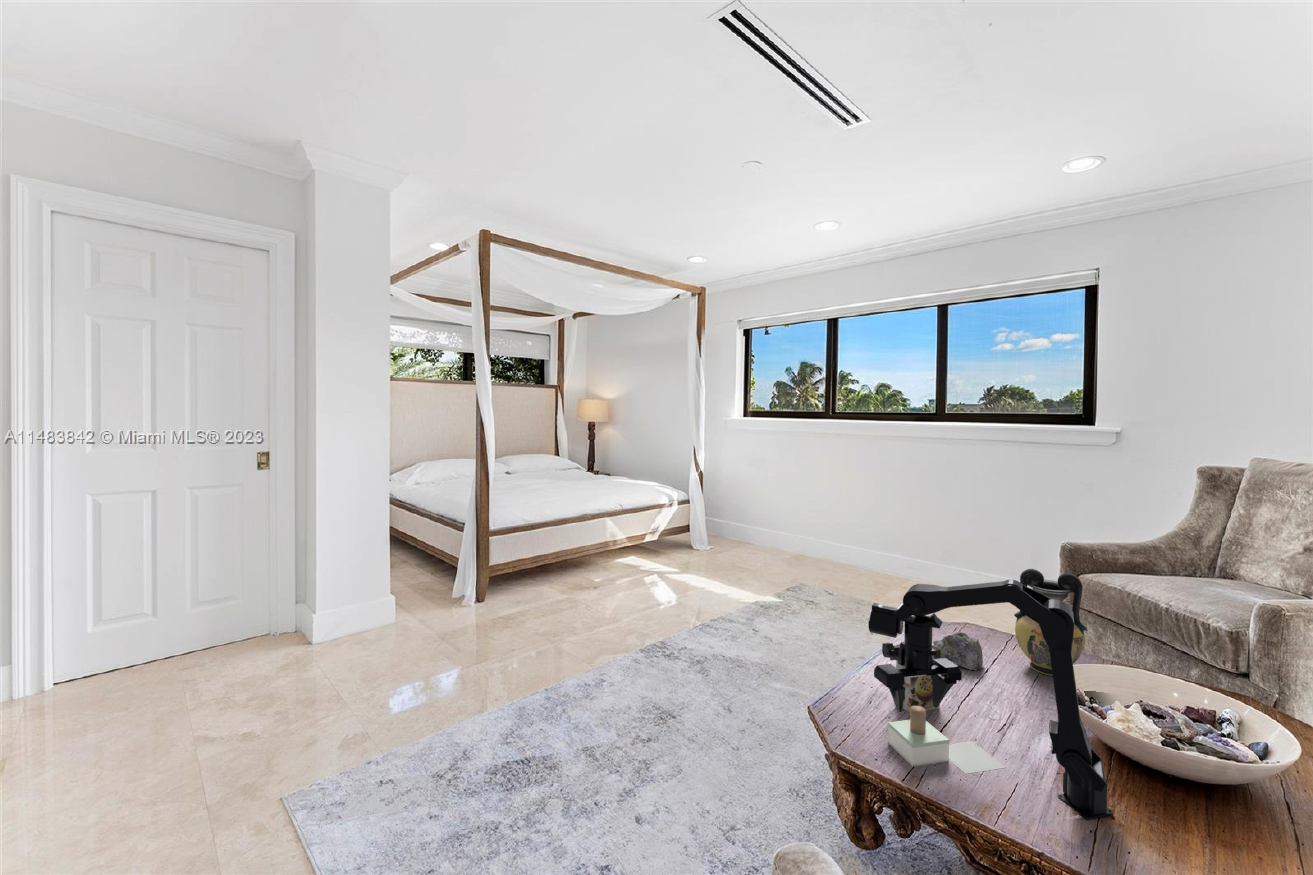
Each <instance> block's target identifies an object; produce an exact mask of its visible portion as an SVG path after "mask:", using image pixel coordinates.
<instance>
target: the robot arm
mask: <svg viewBox="0 0 1313 875" xmlns="http://www.w3.org/2000/svg"><path fill="white" fill-rule="evenodd" d="M899 603H900V604H899V605H898V606H897V607H894V606H893V607H892V606H888V605H884V604H881V603H877V602H876V603H875V602H874V603H873V604H872V605H871V612H870V615H869V620H868V631H869V632H870V633H871V634H877V635H881V636H885V637H890V638H895V639H896V638H897V637H898V635H902V633H903V630H904V634H903V635H904V638H903V639H904V640H903V641H900V643H899V644H900V645H899V644H895V645H894V644H893V642H884V643H882V646H881V652H882V656H883V657H884V658H889V660H890V661H891V662H892V661H896V660H897V661H898V664H899V665H901V666H902V665H903V666H904V669H897V668H896V666H894V665H893V664H891V663H886V664H877V665H876V666H874V669H873V677H874V678H876V680H878V682H880V683H881V684H883V685H884V686H885V687H886V688H888V690H889V692H890V695H891V697H892V700H893V703H894V706H895V709H896V711H897V712H898V713H902V711H903V702H904V695H905V687H903V685H904V683H905V678H912V677H921V676H929V675H931V678H932V701H933V706H934V707H935V708H937V707H938V706H939V704H940V705H941V703H942V702H943V700H944V699H945V697H946V695H947V693H949V691H950V690H951V688H952V687H953V686H954V685H957V684H958V682H957V681H962V680H963V670H962V669H961V666H959V665H957V664H954V663H953V662H951V661H949V660H948V659H946V658H941V659H933V660H932V655H936V650H934V649H933V648H932V645H933V628H935V629H940V628H941V626H942V625H943V620H941V619H940V618H939V617H938V615H936V613H938V612H941V611H943V610H946V609H950V608H960V607H970V606H971V607H972V606H981V605H993V604H994V605H995V604H1005V603H1009V604H1011V605H1012V606H1013V607H1016V609H1018V610H1019V611H1022V612H1023V613H1024V614H1025V615H1026V616H1028V617H1029V618H1030V619H1032V620H1033V621H1035V622H1037V623H1038V624H1039V626H1040V629H1041V632H1042V635H1043V638H1044V640H1045V642H1046V645H1047V647H1048V649H1049V653H1050V660H1051V667H1052V675H1053V676H1052V680H1053V689H1054V691H1053V692H1054V697H1055V703H1056V704H1055V705H1056V712H1057V721H1056V720H1052V719H1049V725H1048V726H1049V728H1048V730H1049V732H1048V733H1049V738H1050V740H1051V750H1050V751H1051V752H1050V753H1051V755H1055V758H1056V760H1057V763H1058V764H1059V765H1060V766H1062V767H1063V769H1064V772H1063V773H1062V775H1063V776H1062V793H1058V794H1057V798H1058V799H1059V800H1061V801H1062V802H1063V803H1065V804H1066V805H1068V807H1070V808H1071V809H1073V810H1074V812H1077V813H1078V814H1079V815H1080V816H1081V817H1082V818H1084V819H1085V820H1091V819H1097V818H1104V817H1109V816H1114V811H1113V809H1111V808H1109V807H1108V783H1107V779H1106V772H1105V770H1106V769H1105V765H1104V759H1102V758H1101V756H1100V755H1099V754H1098V753H1097V752H1096V751H1095V750H1094V749H1093V748H1092V745H1091V742H1090V738H1089V736H1088V733H1087V730H1086V727H1085V725H1084V723H1083V720H1082V718H1081V714H1080V708H1079V707H1080V706H1079V698H1078V692H1077V684H1076V677H1075V669H1074V664H1073V660H1072V645H1073V635H1074V616H1073V611H1072V607H1071V606H1070V605H1068V603H1066V602H1065V601H1060V600H1055V599H1051V598H1049V597H1047V596H1045V595H1044V594H1042V593H1040V592H1038V591H1036V590H1033V588H1032V587H1031V588H1030V586H1029V587H1028V586H1025V585H1023V584H1021V583H1020V580H1016V579H1013V578H1012V579H1010V578H1009V579H1006V580H1002V581H993V582H991V581H990V582H984V583H975V584H974V583H973V584H965V585H955V586H942V585H937V584H929V583H928V584H926V583H917V584H914V585H912V586H910V587H909V589H908V590H907V591H906V593H905V594H904V595H903V597H902V602H899Z"/></svg>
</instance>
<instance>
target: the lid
mask: <svg viewBox="0 0 1313 875" xmlns="http://www.w3.org/2000/svg"><path fill="white" fill-rule="evenodd" d="M909 713H910V714H909V719H905V720H898V721H897V720H896V721H889V722H888V723H887V725H888V726H889V727H890V728H891V729H892V730H893V731H894V732H896V733H897V734H898V735H899V736H900V737H901V738H902V739H903V740H904V741H905V742H906V743H907V744H909V745H910V746H911V747H912V748H919V747H926V746H933V745H940V744H947V743H949V744H950V739H949V738H948V737H947V736H945V735H944V734H943V733H941V732H940V731H939V730H938V729H937V728H936V727H934V726H933V725H932V724H931V723H930V722H928V721H927V719H926V718H927V711H926V710H925V709H924V708H922V707H920V706H911V707H910V712H909ZM888 726H887V727H888Z"/></svg>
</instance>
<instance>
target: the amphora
mask: <svg viewBox="0 0 1313 875" xmlns="http://www.w3.org/2000/svg"><path fill="white" fill-rule="evenodd" d="M1019 582H1020V583H1021V584H1023V585H1025V586H1027V587H1028V586H1029V588H1030V587H1031V589H1033V590H1036V591H1038V592H1040V593H1042V594H1044V595H1045V596H1047V597H1049V598H1051V599H1055V600H1060V601H1062V602H1064V600H1066V599H1067V598H1068V596H1069V594H1071V593H1073V594H1074V595H1073V602H1072V607H1071V609H1072V611H1073V616H1074V635H1073V645H1072V660H1073V665H1074V664H1075V663H1076V662H1077V661H1078V660H1079V658H1080V657H1081V655H1082V654H1083V651H1084V648H1085V645H1086V637H1085V636H1086V635H1085V631H1088V628H1087V626H1085V624H1084V623H1082V622H1081V617H1080V609H1081V608H1080V607H1081V603H1082V602H1081V600H1082V596H1083V590H1084V588H1083V583H1082V581H1081V579H1080V578H1079V577H1078V576H1077V575H1075V574H1073V573H1066V572H1065V573H1063V574H1060V575H1059V576H1058V578H1057V580H1052V579H1051V580H1050V579H1045V577H1044V575H1043V573H1042V572H1041V571H1039V570H1037V569H1036V568H1035V569H1034V568H1027V569H1025V570H1023V571H1022V572H1021V574H1020V575H1019ZM1014 617H1015V618H1016V622H1015V627H1014V629H1015V631H1014V632H1015V638H1016V641H1017V643H1018V646H1019V648H1020V649H1021V651H1022V653H1024V655H1025V656H1026V657H1027V658H1028V659H1030V662H1029V667H1030V668H1031V669H1032V670H1033V671H1035V672H1037V673H1040V674H1042V675H1046V676H1051V677H1053V675H1052V667H1051V660H1050V653H1049V649H1048V647H1047V645H1046V642H1045V640H1044V638H1043V635H1042V632H1041V629H1040V626H1039V624H1038V623H1037V622H1035V621H1033V620H1032V619H1030V618H1029V617H1028V616H1026V615H1025V614H1024V613H1023V612H1022V611H1020V610H1019V611H1017V612H1016V613H1014Z"/></svg>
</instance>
